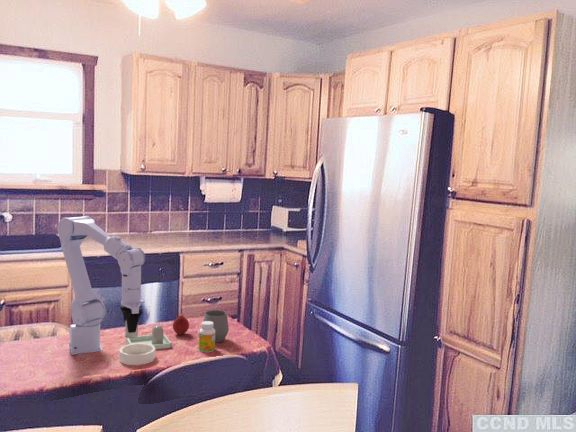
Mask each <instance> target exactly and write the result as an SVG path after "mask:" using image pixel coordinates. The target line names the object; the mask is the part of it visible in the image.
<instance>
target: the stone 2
mask: <svg viewBox="0 0 576 432" xmlns="http://www.w3.org/2000/svg"><path fill="white" fill-rule="evenodd" d="M163 333H164V327H162V325H158V324H157V325H154V327H152V330H151V335H152V345H155V344H163Z"/></svg>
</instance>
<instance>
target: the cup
mask: <svg viewBox="0 0 576 432" xmlns="http://www.w3.org/2000/svg"><path fill="white" fill-rule="evenodd" d="M204 321H211V322H213V323H214V326H213V328H214V329H215V343H221V342H223V341H224V340H225V339H226V337H227V336H228V333H229V330H230V327H229V321H228V313H227V312H226V311H225V310H220V309H217V310H216V309H215V310H214V309H213V310H212V309H211V310H208V311H206V312H205V313H204V317H203V321H202V322H204Z"/></svg>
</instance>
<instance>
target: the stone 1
mask: <svg viewBox="0 0 576 432" xmlns="http://www.w3.org/2000/svg"><path fill="white" fill-rule="evenodd" d="M124 326H125V327H124V337H125V339H126V338H136V337H138V336H139V333H138V332H139V323H138V324H137V329H136V332H132V333H129V332H128V328H127V321H126V322H124Z"/></svg>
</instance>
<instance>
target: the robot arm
mask: <svg viewBox="0 0 576 432" xmlns="http://www.w3.org/2000/svg"><path fill="white" fill-rule="evenodd" d="M56 230H57V234H58V238H59V240H60V241H59V242H60V245H61V250H62V254H63V257H64V260H65V263H66V267H67V270H68V275H69V279H70V281H71V286H72V289H73V292H74V296H75V297H74V299H73V300H72V301H71V303H70V305H69V306H70V309H71V314H70V315H71V320H72V321H73V323H74V324H69V343H68V344H69V345H68V346H69V349H70V350H69V351H70V354H71V355H72V356H74V355H77V354H86V353H87V354H88V353H95V352H102V351H103V348H102V345H101V322H103V319H104V317H105V316H106V314H107V309H106V305H105V303H103V301H102V299H101V295H99V294H98V293H95V292H94V291H93V289H92V288H93V287H92V285H91V282H90V277H89V274H88V271H87V267H86V264H85V263H86V262H85V260H84V257H83V253H82V250H81V245H82V244H83V242H85V240H86V239H87V238H91V239H92V240H94V241H96V242H97V243H99V244H101V245H102V246H103V251H104V252H106V253H108V254H109V255H110V257H113V258H114V259H115V260H117V263H118V265H119V268H120V270H119V271H120V274H121V300H120V305H119V308H120V311H121V313H122V316H123V320H124V321H123V322H124V323H125V322H126V321H127V328H128V332H129V333H132V332H136V329H137V324H138V325H139V320H140V318H141V316H142V314H143V310H142V309H140V306H141V305H142V304H144V303H145V300H144V299H141V297H142V296H141V294H142V292H141V291H142V266H143V265H144V264H145V261H146V254H145V252H144V250H142V249H141V248H140V247H132V245H131V244H128V243H127V242H125V241H124V240H123V239H122V237H120V236H118V235H117V236H116V235H112V236H110V235H109V234H108V233H107V232H106V231H105V230H103V229H102V228H101V227H100V226H99V225H97V224H96V221H95V219H94V218H92V217H90V216H89V215H83V216H73V217H72V216H71V217H62V218H61V219H60V220H59V221H58V224H57V227H56Z"/></svg>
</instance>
